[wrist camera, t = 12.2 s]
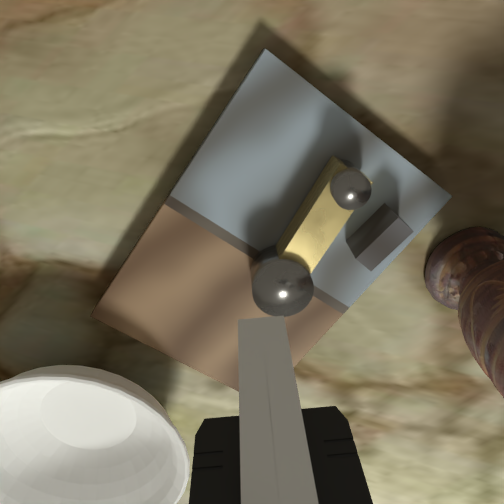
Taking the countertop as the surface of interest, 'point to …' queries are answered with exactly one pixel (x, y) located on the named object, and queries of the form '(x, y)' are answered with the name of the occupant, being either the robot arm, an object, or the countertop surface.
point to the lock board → (261, 224)
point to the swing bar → (307, 239)
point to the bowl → (86, 440)
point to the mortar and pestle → (473, 292)
